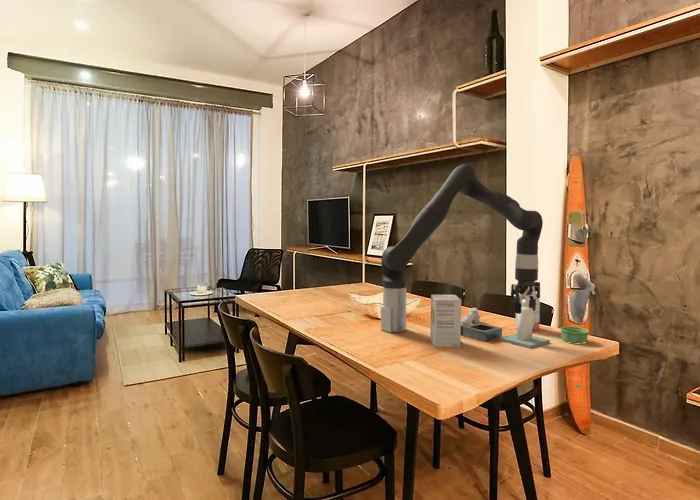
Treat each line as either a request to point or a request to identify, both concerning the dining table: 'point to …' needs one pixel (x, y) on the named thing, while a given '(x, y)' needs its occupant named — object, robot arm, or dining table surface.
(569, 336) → the ramekin
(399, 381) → the dining table surface
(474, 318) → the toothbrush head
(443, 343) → the supplement box
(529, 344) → the mat
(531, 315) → the end plug
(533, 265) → the robot arm
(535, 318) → the ink cartridge box
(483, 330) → the socket block
